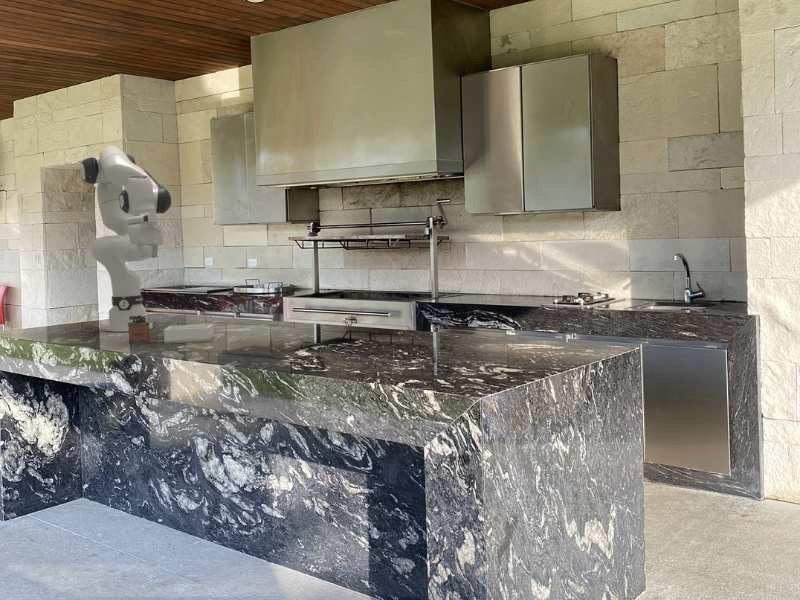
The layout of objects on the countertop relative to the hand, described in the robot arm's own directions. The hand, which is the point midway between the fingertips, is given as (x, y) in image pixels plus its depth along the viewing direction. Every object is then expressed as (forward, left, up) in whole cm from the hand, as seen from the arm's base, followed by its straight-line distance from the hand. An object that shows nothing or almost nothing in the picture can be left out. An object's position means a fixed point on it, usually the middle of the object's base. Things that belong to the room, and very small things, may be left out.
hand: (149, 257), depth 309 cm
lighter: (+1, -5, -31) cm, 31 cm away
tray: (+1, +13, -31) cm, 34 cm away
